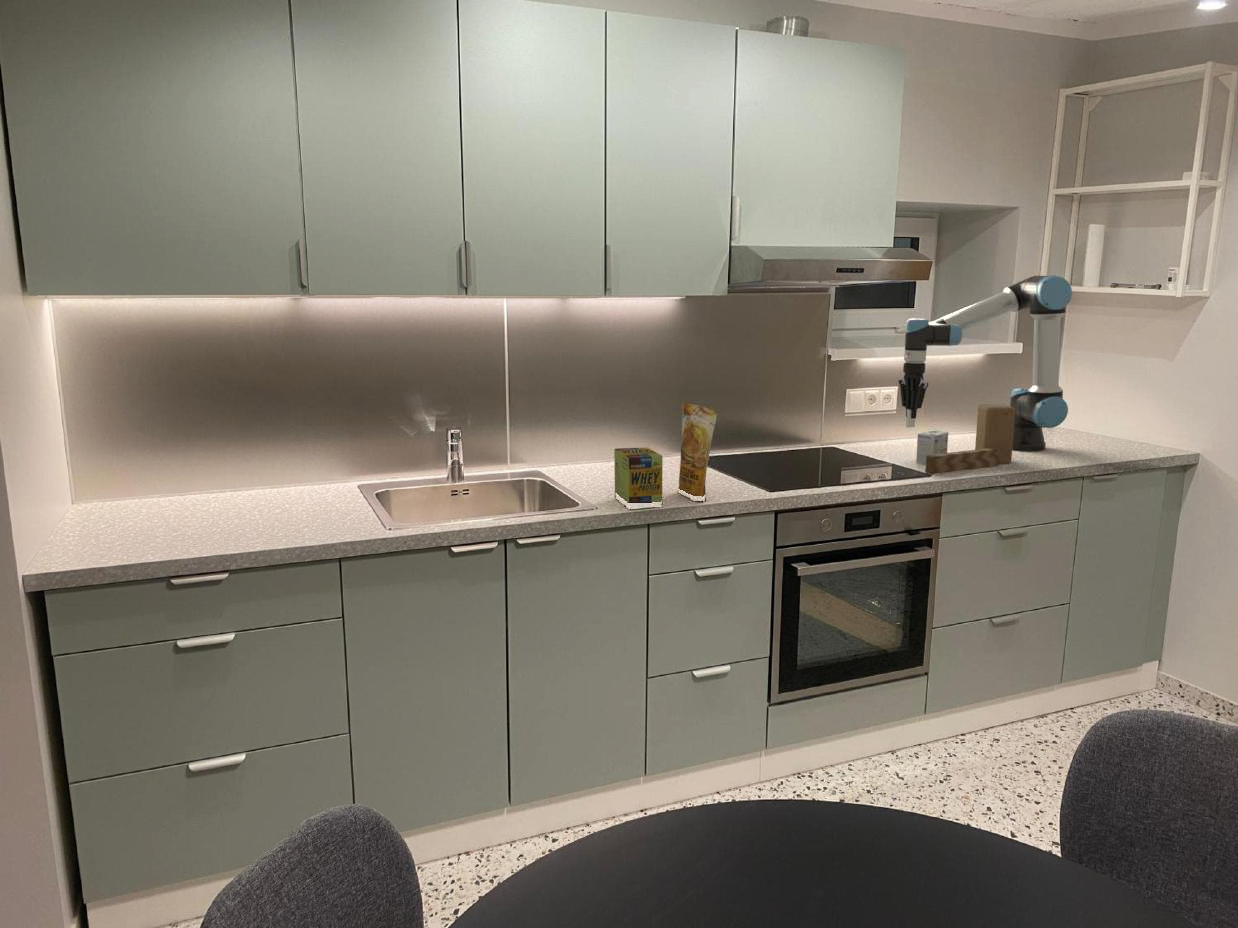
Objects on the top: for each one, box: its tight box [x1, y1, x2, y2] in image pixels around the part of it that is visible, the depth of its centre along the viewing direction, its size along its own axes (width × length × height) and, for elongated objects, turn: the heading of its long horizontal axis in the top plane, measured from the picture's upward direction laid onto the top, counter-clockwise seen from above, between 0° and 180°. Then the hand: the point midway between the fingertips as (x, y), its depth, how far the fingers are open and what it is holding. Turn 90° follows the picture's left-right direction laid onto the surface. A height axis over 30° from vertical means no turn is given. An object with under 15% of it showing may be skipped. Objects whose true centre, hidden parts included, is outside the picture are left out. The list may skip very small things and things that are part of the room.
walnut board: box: [925, 448, 999, 475], centre depth 316 cm, size 30×3×6 cm, turn 115°
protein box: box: [613, 446, 664, 503], centre depth 272 cm, size 10×15×16 cm
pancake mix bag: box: [678, 401, 718, 497], centre depth 278 cm, size 7×19×28 cm, turn 21°
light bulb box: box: [915, 429, 949, 465], centre depth 328 cm, size 11×7×11 cm, turn 134°
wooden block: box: [974, 403, 1015, 465], centre depth 328 cm, size 10×10×20 cm
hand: (910, 426), depth 337 cm, fingers closed
